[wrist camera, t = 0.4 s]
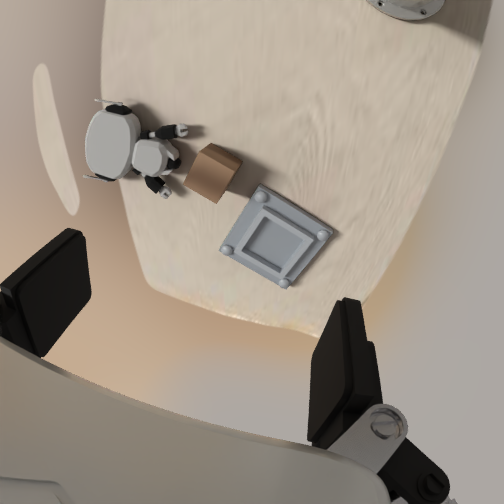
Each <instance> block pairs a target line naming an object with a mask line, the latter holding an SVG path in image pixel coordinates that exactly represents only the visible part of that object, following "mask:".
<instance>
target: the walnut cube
mask: <svg viewBox="0 0 504 504" xmlns="http://www.w3.org/2000/svg"><path fill="white" fill-rule="evenodd" d="M242 162H243V161H242V160H240V159H238V158H236V157H235V156H233V155H231V154H229V153H228V152H226V151H224V150H222V149H221V148H219V147H217V146H215V145H214V144H212V143H210V144H209V145H207V146H206V147H205V148H203V149H202V150H201V151H199V153H198V155H197V157H196V159H195V161H194V163H193V165H192V167H191V169H190V171H189V173H188V175H187V177H186V179H185V181H184V183H183V185H185V186H186V187H188V188H190V189H192V190H193V191H195V192H197V193H199V194H200V195H202V196H204V197H205V198H207V199H209V200H211V201H212V202H214V203H216V204H217V202H218V201H219V200H220V198H221V197H222V195H223V194H224V193H225V191H226V190H227V188H228V186H229V184H230V183H231V181H232V179H233V177H234V176H235V174H236V172H237V171H238V169H239V167H240V166H241V164H242Z"/></svg>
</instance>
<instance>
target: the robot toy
mask: <svg viewBox="0 0 504 504" xmlns="http://www.w3.org/2000/svg"><path fill="white" fill-rule="evenodd" d="M95 101H98V102H106V103H112V104H113V105H109V106H107V107H106V109H103V110H100V111H98V112H97V113H96V114H95V115H94V117H93V118H92V120H91V123H90V125H89V127H88V131H87V134H86V138H85V154H86V161H87V164H88V166H89V168H90V169H91V171H92V172H94V173H95V175H96V176H98V177H99V178H97V177H92V176H88V175H84V176H83V177H85V178H92V179H97V180H103V181H104V182H108V181H115V180H116V179H120V178H122V177H123V176H124V175H125V174H127V173H128V172H129V171H130V170H131V169H132V167H134V169H133V170H132V171H133V172H135V173H136V174H137V175H139V174H141V175H142V176H143V177H144V178H145V182H146V184H147V186H148V187H149V188H150V189H151V190H152V191H153V192H154V193H157V192H158V191H159V193H160V195H161V197H163V198H165V199H166V198H168V197H169V196H170V195H171V194H172V191H171V189H170V188H169V187H166V186H163V185H164V184H165V182H164V181H163V180H162V179H161V178H160V177H159V175H168V174H169V173H170V172H171V171H172V170H173V169H177V168H179V167H180V164H181V160H180V159H179V158H178V157H179V151H178V150H177V149H176V148H175V147H173V146H172V145H171V143H170V142H169V141H168V140H166V139H173V138H177V137H178V136H180V137H184V136H187V134H188V131H182V129H187V128H188V127H187V125H185V124H179V125H175V124H174V125H167V126H162V127H161V128H159V129H158V130H157V131H155V132H151V131H150V130H147V131H142V132H141V127H140V123H139V120H138V117H136V116H135V115H134V114H132V110H131V109H129V108H128V107H127V106H124V105H122V104H123V103H122V102H118V103H117V102H111V101H105V100H100V99H95Z"/></svg>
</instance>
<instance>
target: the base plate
mask: <svg viewBox="0 0 504 504" xmlns="http://www.w3.org/2000/svg"><path fill="white" fill-rule="evenodd" d="M332 233H333V229H332V228H330V227H329V226H327V225H325V224H324V223H322V222H321V221H319V220H318V219H316V218H315V217H313V216H311V215H310V214H308V213H307V212H305V211H304V210H302V209H300V208H299V207H297V206H296V205H294V204H292V203H291V202H289V201H288V200H286V199H284V198H283V197H281V196H279V195H278V194H276V193H275V192H273V191H271V190H270V189H268V188H266V187H265V186H263V185H261V184H259V186H258V187H257V189H256V190H255V192H254V194H253V195H252V197H251V198H250V200H249V202H248V203H247V205H246V206H245V208H244V210H243V211H242V213H241V214H240V216H239V218H238V219H237V221H236V222H235V224H234V226H233V227H232V229H231V231H230V232H229V234H228V235H227V237H226V239H225V240H224V242H223V244H222V245H221V247H220V249H219V251H220V252H222V253H223V254H224V255H226V256H229V257H230V258H232V259H234V260H236V261H237V262H239V263H241V264H243V265H244V266H246V267H248V268H250V269H251V270H253V271H255V272H256V273H258V274H260V275H262V276H263V277H265V278H267V279H269V280H270V281H272V282H274V283H276V284H277V285H279V286H280V287H281V288H284V289H287V288H288V287H289V286H290V284H291V283H292V282H293V281H294V280H295V278H296V277H297V276H298V275H299V274H300V272H301V271H302V270H303V269H304V268H305V266H306V265H307V264H308V263H309V262H310V260H311V259H312V258H313V257H314V256H315V254H316V253H317V252H318V251H319V249H320V248H321V247H322V246H323V245H324V243H325V242H326V241H327V240H328V238H329V237H330V236H331V235H332Z"/></svg>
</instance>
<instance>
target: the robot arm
mask: <svg viewBox="0 0 504 504" xmlns="http://www.w3.org/2000/svg"><path fill="white" fill-rule="evenodd" d="M366 1H367V2H368V3H369V4H370V5H372V6H373V7H375V8H376V9H377V10H379V11H381V12H383V13H385V14H387V15H389V16H392V17H395V18H398V19H403V20H420V19H424V18H427V17H430V16H432V15H433V14H435V13H436V12H437V11H439V10H440V9H441V7H442V6H443V4H444V2H445V0H366ZM378 3H381V5H382V6H379V5H378ZM420 12H422V13H423V15H422V14H421V13H420ZM0 288H1V292H0V504H457V502H456V501H455V499H452V500H450V498H449V497H448V494H449V490H450V484H449V479H448V477H447V475H446V474H445V473H444V471H443V470H442V469H440V468H439V467H438V466H437V465H436V464H435V463H434V462H432V461H431V460H430V459H429V458H428V457H427V456H426V455H425V454H424V453H423V452H421V451H420V450H419V449H418V448H417V447H416V446H415V445H414V444H413V443H412V442H410V441H409V440H408V439H407V438H406V435H407V431H408V425H407V421H406V419H405V417H404V415H403V414H402V413H401V412H400V411H399V410H398V409H397V408H395V407H393V406H391V405H387V404H383V399H382V392H381V385H380V378H379V371H378V365H377V358H376V352H375V346H374V344H373V342H370V341H367V337H366V332H365V325H364V319H363V313H362V307H361V302H360V301H359V300H354V299H350V298H346V297H344V298H343V299H342V301H340V300H337V301H336V303H335V306H334V308H333V310H332V312H331V315H330V317H329V319H328V322H327V324H326V326H325V328H324V331H323V333H322V335H321V337H320V339H319V342H318V344H317V346H316V348H315V350H314V352H313V355H312V360H311V380H310V400H309V418H308V433H307V440H308V441H310V442H312V446H309V445H304V444H299V443H295V442H290V441H285V440H280V439H275V438H270V437H265V436H260V435H256V434H252V433H248V432H243V431H239V430H235V429H231V428H227V427H223V426H219V425H215V424H211V423H207V422H204V421H200V420H197V419H193V418H190V417H187V416H183V415H180V414H177V413H173V412H170V411H167V410H164V409H161V408H158V407H155V406H152V405H150V404H146V403H144V402H141V401H138V400H135V399H133V398H130V397H127V396H125V395H122V394H120V393H117V392H114V391H112V390H109V389H107V388H104V387H102V386H100V385H97V384H95V383H93V382H90V381H88V380H85V379H83V378H81V377H79V376H77V375H75V374H72V373H70V372H68V371H66V370H64V369H62V368H59V367H57V366H55V365H53V364H51V363H49V362H47V361H45V360H43V359H41V357H44V356H45V355H46V354H47V353H48V352H49V350H50V349H51V348H52V346H53V345H54V344H55V342H56V341H57V340H58V339H59V337H60V336H61V335H62V334H63V332H64V331H65V330H66V328H67V327H68V326H69V325H70V323H71V322H72V321H73V320H74V318H75V317H76V316H77V314H78V313H79V312H80V311H81V310H82V308H83V307H84V306H85V305H86V304H87V303H88V301H89V300H90V298H91V284H90V277H89V268H88V260H87V251H86V239H85V237H84V236H83V234H82V232H81V231H78V230H75V229H71V228H67V229H65V230H64V231H63V232H61V233H60V234H59V235H58V236H56V237H55V238H54V239H52V240H51V241H50V242H49V243H48V244H46V245H45V246H44V247H43V248H41V249H40V250H39V251H38V252H36V253H35V254H34V255H33V256H32V257H30V258H29V259H28V260H27V261H26V262H25V263H24V264H22V265H21V266H20V267H19V268H18V269H17V270H15V271H14V272H13V273H12V274H11V275H10V276H9V277H8V278H6V279H5V280H4V281H3V282H2V283H1V284H0Z"/></svg>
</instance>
